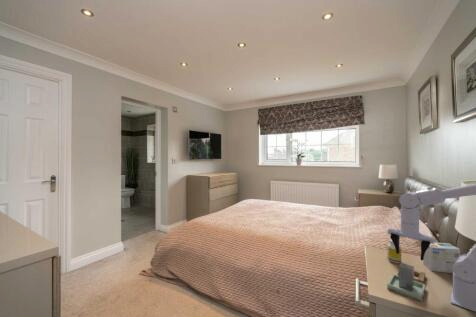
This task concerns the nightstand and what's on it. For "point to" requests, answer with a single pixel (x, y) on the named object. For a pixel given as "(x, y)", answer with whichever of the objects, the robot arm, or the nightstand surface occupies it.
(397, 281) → the sage tray
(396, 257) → the supplement bottle
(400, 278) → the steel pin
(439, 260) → the light bulb box
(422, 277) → the oak holder
